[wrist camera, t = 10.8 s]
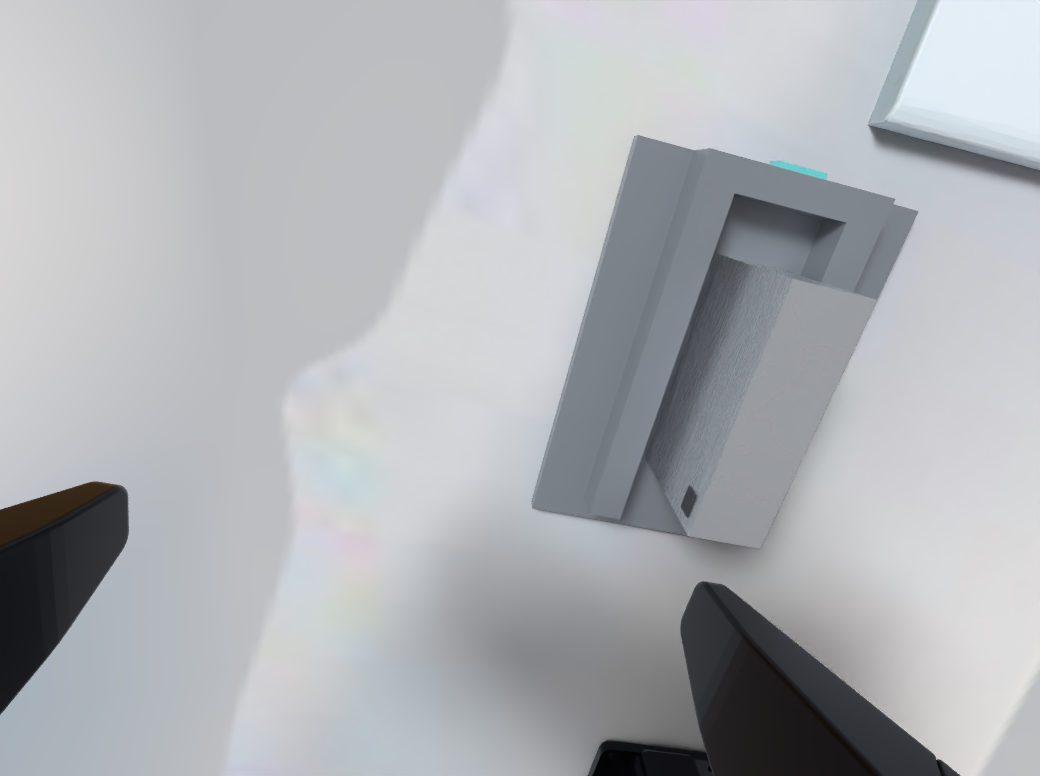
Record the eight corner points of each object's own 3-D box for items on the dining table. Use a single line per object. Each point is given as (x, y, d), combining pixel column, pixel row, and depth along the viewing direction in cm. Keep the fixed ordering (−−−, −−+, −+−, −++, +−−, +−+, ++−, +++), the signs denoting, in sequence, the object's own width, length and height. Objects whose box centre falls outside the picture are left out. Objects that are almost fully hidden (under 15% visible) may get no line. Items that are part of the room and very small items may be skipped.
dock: (755, 541, 24) (775, 568, 22) (531, 501, 22) (534, 527, 21) (910, 204, 19) (951, 207, 17) (636, 129, 17) (651, 124, 16)
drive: (703, 469, 22) (761, 549, 17) (644, 457, 21) (686, 536, 17) (783, 270, 19) (878, 300, 14) (716, 253, 19) (791, 278, 14)
